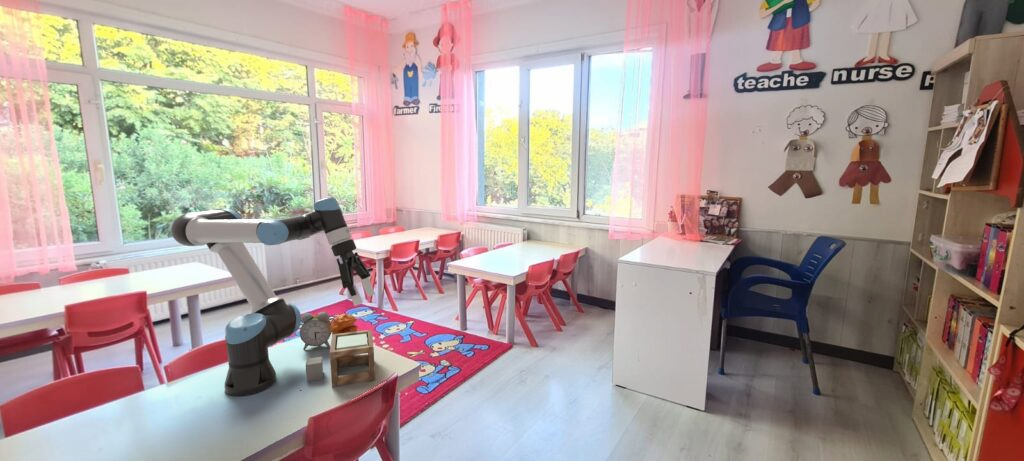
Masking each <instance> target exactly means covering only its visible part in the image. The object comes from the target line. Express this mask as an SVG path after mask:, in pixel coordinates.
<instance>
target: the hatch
mask: <svg viewBox="0 0 1024 461" xmlns="http://www.w3.org/2000/svg"><path fill="white" fill-rule="evenodd" d="M362 346H368V344H367V334H358V335H349V336H341V337H337V350H340V349H347V348H355V347H362Z"/></svg>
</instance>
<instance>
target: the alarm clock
mask: <svg viewBox="0 0 1024 461" xmlns="http://www.w3.org/2000/svg"><path fill="white" fill-rule="evenodd" d="M301 323H302V325H300V327H299V337H300V339H301V341H302V342H303V344H304V346H303V350H304V351H305V350H306V349H307V348H308V347H309V346H310V347H320V346H323V345H325V346H327V347H328V348H330V346H331V344H330V343H329V339H331V336H332V332H331V330H330V323H331V321H330V315H329V313H328V312H327V311H320V312H318V313H316V314H315V315H314V314H312V313H309V312H306V313H303V314H302V315H301ZM331 324H332V323H331Z"/></svg>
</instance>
